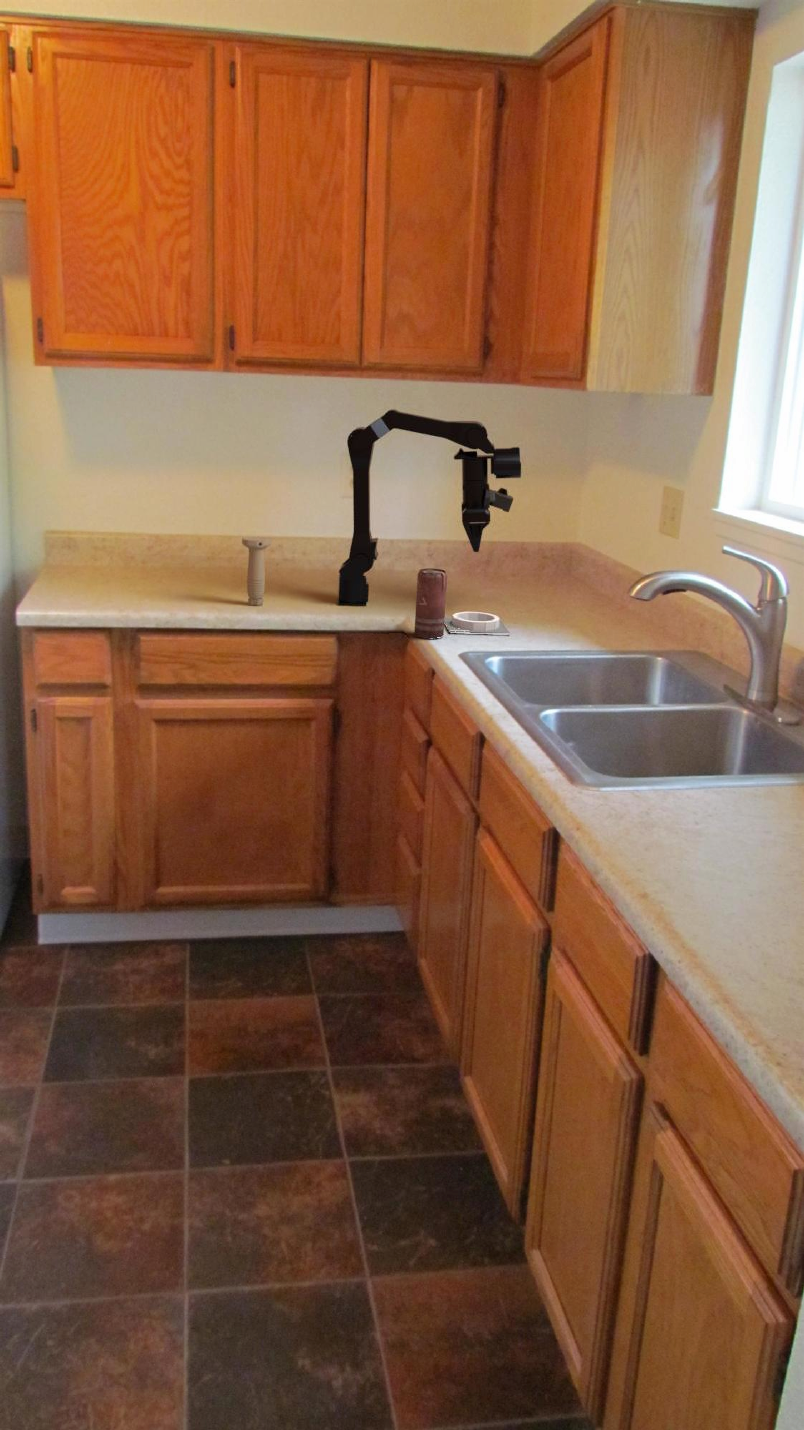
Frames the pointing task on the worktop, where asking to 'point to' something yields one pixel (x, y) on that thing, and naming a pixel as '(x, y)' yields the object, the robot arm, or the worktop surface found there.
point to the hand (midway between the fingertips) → (475, 548)
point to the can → (430, 603)
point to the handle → (256, 568)
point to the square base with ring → (475, 623)
